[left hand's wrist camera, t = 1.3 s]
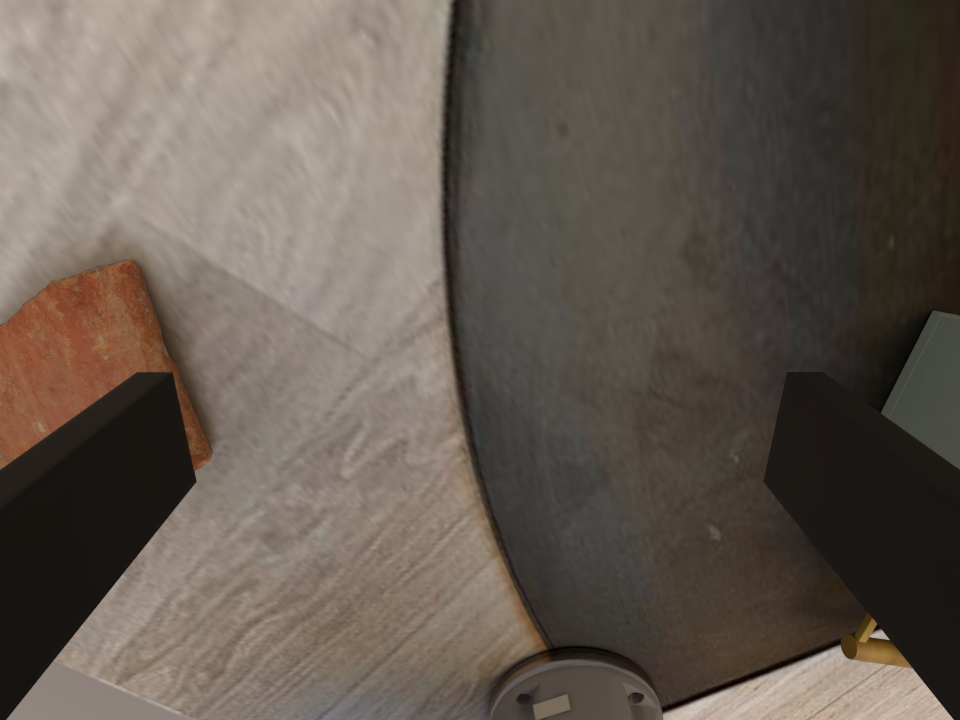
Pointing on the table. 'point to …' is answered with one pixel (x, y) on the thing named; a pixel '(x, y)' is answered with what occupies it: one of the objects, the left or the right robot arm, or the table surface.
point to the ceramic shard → (81, 356)
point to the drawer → (871, 646)
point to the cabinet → (931, 388)
